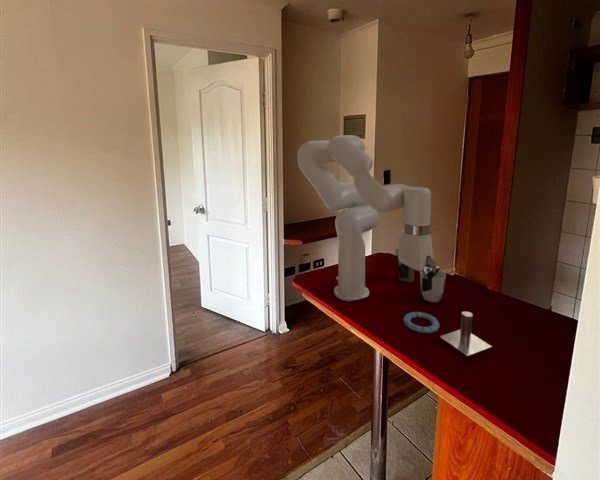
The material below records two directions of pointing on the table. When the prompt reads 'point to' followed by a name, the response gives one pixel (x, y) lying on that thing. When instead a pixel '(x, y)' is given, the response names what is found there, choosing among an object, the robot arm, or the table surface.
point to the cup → (434, 287)
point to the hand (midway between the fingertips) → (414, 283)
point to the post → (466, 337)
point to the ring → (429, 329)
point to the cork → (410, 277)
